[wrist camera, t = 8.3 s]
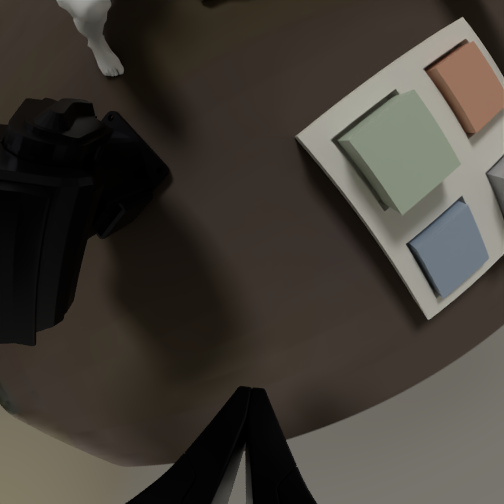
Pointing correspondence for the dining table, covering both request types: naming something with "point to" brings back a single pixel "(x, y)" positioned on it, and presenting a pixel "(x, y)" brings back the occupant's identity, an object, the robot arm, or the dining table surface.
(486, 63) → the key terracotta
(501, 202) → the key grey
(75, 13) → the person figurine
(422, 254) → the key slate
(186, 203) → the dining table surface
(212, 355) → the dining table surface
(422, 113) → the key sage
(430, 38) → the keypad
